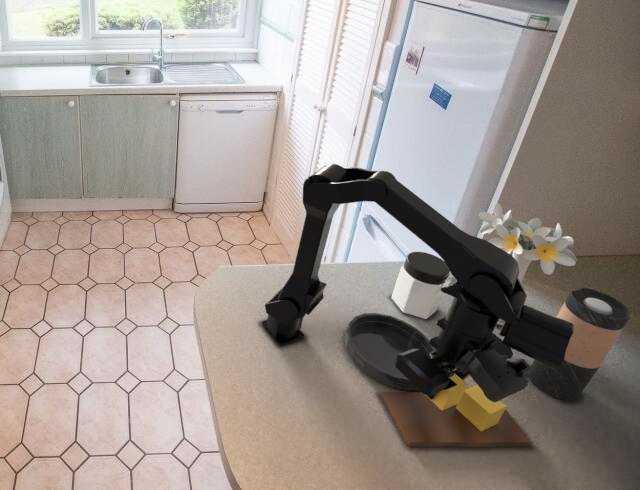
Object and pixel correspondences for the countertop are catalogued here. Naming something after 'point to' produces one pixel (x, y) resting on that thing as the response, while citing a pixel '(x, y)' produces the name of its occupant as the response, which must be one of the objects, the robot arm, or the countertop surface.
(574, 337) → the travel mug
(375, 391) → the countertop surface
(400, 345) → the pan
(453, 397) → the cheese back
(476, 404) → the cheese front
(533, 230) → the flower vase
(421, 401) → the board
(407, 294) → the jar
